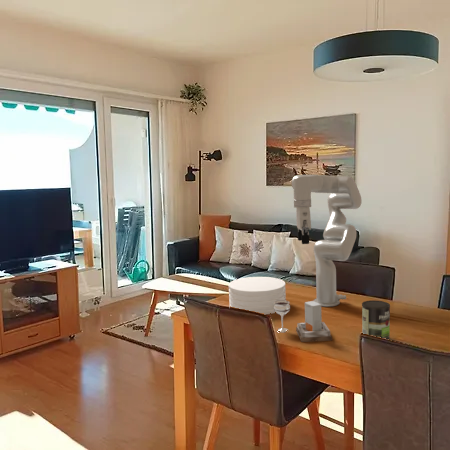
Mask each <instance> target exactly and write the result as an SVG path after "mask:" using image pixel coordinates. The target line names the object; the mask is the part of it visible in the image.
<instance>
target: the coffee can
mask: <svg viewBox="0 0 450 450" xmlns="http://www.w3.org/2000/svg"><path fill="white" fill-rule="evenodd" d="M361 309H362V311H361V312H362V314H361V316H362V317H361V319H362V320H361V321H362V322H361V324H362V327H361V328H362V329H361V331H362V332H361V333H363V334H368V335H373V336H376V337H381V338H386V339H390V337H391V335H390V331H391V330H390V327H391V326H390V323H391V322H390V320H391V319H390V316H391V315H390V314H391V313H390V312H391V310H390V309H391V304H390V303H389V302H386V301H383V300H376V299H375V300H373V299H372V300H366V301H363V302H362V303H361ZM390 340H391V339H390Z"/></svg>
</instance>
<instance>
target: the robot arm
mask: <svg viewBox="0 0 450 450" xmlns="http://www.w3.org/2000/svg"><path fill="white" fill-rule="evenodd" d="M291 187H292V190H293V208H295V209H296V212H295V213H296V217H295V218H296V227H297V241H299V242H300V241H301V244H302V245H309V244H310V233H309V230H310V231H311V230H312V220H311V218H312V217H311V210H310V209H311V208H312V193H316V194H329V195H328V197H327V207H328V213H329V218H328V221H327V223H326V226H325V228H324V230H323V234H322V237H323V239H319V240H317V241H316V242H314V245H313V253H314V260H315V274H316V275H315V277H316V280H315V281H316V283H315V284H316V285H315V286H316V290H315V291H316V298H314V299H313V301H314V302H317V303H319V304H321V307H328V308H329V307H336V306H338V305H340V300H347V295H345V294H344V295H343V294H338V293H337V269H336V265H335V263H334V262H333V261H339V262H345V261H347V260H349V257H350V255H351V253H352V251H353V247H354V245H355V242H356V239H357V229H356V227H355V226H354V225H352V224H347V218H346V215H345V214H344V212H342V211H341V210H358V209H359V208H361V205H362V196H361V193H360V190H359V188H358V187H359V186H358V185H357V183H356V181H355V179H354V178H353V177H352V176H350V175H344V176H343V175H341V176H340V175H336V176H333V175H326V174H322V175H321V174H297V175H295V176H293V178H292V179H291Z"/></svg>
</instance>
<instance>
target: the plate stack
mask: <svg viewBox="0 0 450 450" xmlns="http://www.w3.org/2000/svg"><path fill="white" fill-rule="evenodd" d="M286 290H287V289H286V281H284V280H282V279H281V278H277V277H272V276H271V277H270V276H249V277H242V278H237V279H234V280H232V281H230V282H229V283H228V300H229V301H228V302H229V307H230V306H231V307H235V308H239V309H245V310H249V311H255V312H259V313H264V315H271V314H275V310H274V305H275V304H274V302H275V301H278V300H286V301H287V297H286V296H287V295H286V292H287V291H286ZM270 313H271V314H270Z"/></svg>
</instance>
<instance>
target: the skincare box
mask: <svg viewBox="0 0 450 450" xmlns="http://www.w3.org/2000/svg"><path fill="white" fill-rule="evenodd" d="M322 322H323V321H322V306H321V304H319V303H317V302H314V300H311V301H309V300H308V301H305V302H304V323H305V330H306V331H308V332H309V331H322Z"/></svg>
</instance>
